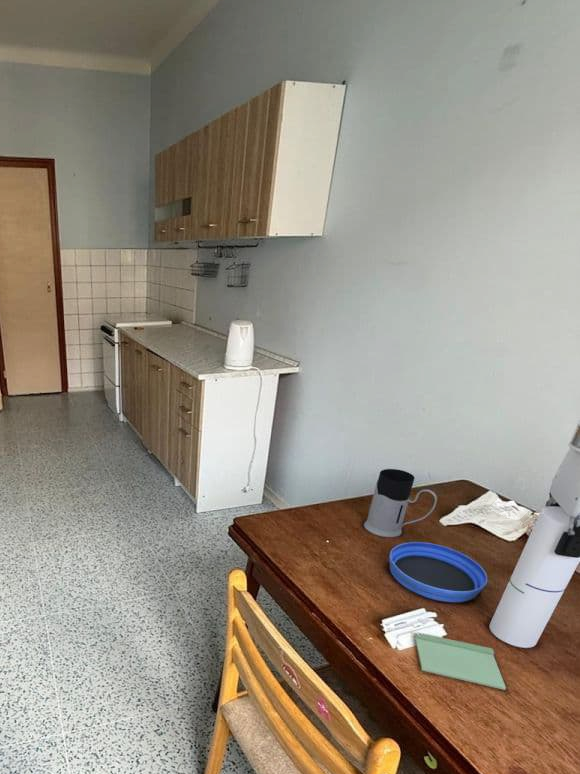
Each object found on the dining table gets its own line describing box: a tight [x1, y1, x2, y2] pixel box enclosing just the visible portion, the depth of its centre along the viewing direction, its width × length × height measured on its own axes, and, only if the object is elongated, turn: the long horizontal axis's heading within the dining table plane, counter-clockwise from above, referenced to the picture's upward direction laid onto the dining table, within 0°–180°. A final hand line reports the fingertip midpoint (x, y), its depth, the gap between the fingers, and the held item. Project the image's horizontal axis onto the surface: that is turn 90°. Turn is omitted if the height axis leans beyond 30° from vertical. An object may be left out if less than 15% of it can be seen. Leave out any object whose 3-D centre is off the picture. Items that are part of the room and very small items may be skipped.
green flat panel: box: [413, 631, 507, 691], centre depth 82 cm, size 12×9×1 cm
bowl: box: [388, 541, 488, 603], centre depth 102 cm, size 18×18×4 cm
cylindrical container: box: [488, 506, 580, 649], centre depth 82 cm, size 7×7×25 cm
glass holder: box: [363, 468, 438, 538], centre depth 116 cm, size 9×14×15 cm, turn 39°
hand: (556, 541), depth 78 cm, fingers closed on cylindrical container, 7 cm apart
